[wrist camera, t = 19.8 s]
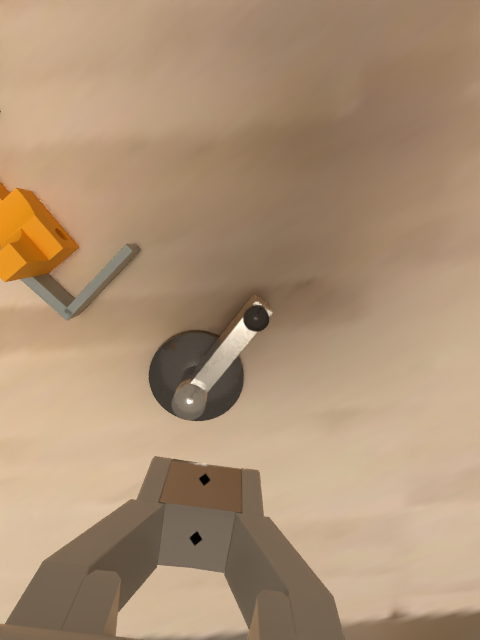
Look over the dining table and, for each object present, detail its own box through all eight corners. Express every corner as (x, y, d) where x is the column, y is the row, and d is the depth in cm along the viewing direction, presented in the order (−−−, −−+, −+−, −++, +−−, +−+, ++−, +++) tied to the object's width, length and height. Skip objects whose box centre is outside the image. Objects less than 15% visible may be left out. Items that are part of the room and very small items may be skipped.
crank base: (196, 311, 34) (195, 314, 33) (262, 376, 36) (263, 380, 34) (132, 373, 35) (128, 378, 34) (198, 432, 37) (196, 438, 36)
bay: (-7, 104, 29) (-30, 91, 27) (140, 249, 32) (132, 250, 30) (-68, 183, 31) (-94, 178, 28) (79, 314, 34) (66, 320, 31)
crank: (199, 397, 35) (192, 426, 30) (176, 381, 34) (164, 407, 29) (273, 307, 32) (279, 320, 27) (249, 288, 32) (251, 298, 27)
